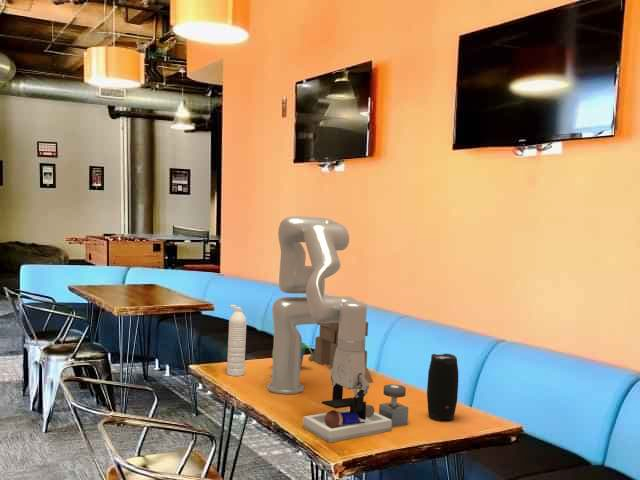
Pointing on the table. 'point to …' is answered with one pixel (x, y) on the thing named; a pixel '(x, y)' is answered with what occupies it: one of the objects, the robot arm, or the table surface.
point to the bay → (346, 427)
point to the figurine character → (337, 418)
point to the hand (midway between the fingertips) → (347, 405)
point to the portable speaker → (442, 387)
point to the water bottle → (236, 343)
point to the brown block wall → (332, 346)
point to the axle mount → (394, 413)
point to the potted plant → (302, 352)
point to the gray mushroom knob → (394, 393)
